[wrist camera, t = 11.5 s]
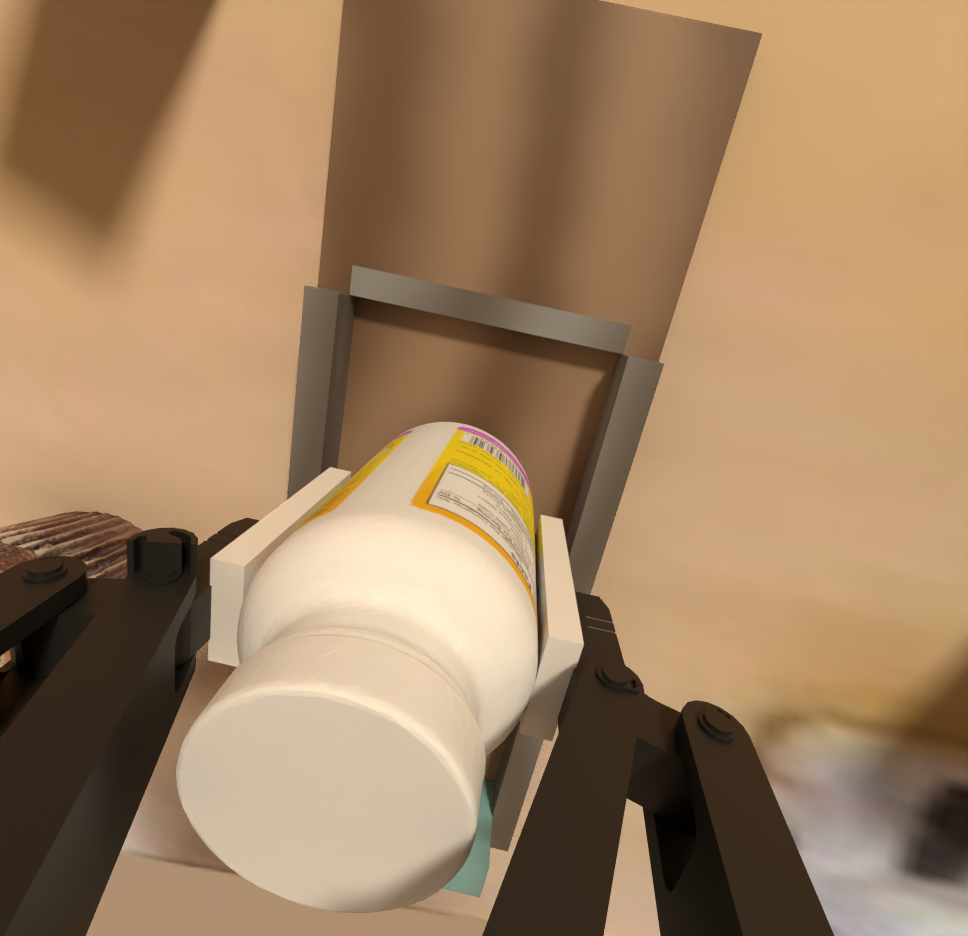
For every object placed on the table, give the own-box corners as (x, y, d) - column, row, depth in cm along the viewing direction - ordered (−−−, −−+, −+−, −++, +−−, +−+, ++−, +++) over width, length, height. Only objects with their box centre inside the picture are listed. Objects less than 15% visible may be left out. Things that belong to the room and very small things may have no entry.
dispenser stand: (750, 47, 15) (846, -69, 11) (514, 801, 26) (512, 905, 21) (356, -33, 15) (286, -179, 11) (283, 746, 26) (231, 837, 22)
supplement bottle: (378, 568, 21) (159, 935, 8) (363, 418, 19) (46, 614, 6) (534, 572, 20) (539, 976, 8) (535, 417, 18) (547, 634, 6)
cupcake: (-17, 559, 24) (-374, 717, 15) (98, 453, 22) (-237, 560, 12) (122, 690, 26) (-113, 906, 16) (242, 606, 24) (50, 803, 14)
